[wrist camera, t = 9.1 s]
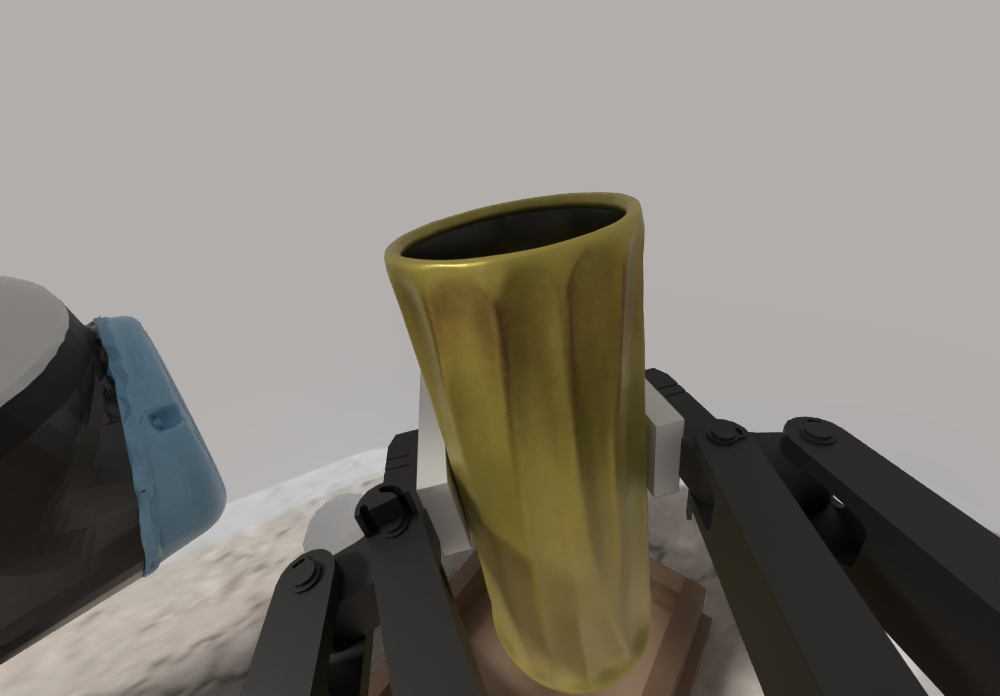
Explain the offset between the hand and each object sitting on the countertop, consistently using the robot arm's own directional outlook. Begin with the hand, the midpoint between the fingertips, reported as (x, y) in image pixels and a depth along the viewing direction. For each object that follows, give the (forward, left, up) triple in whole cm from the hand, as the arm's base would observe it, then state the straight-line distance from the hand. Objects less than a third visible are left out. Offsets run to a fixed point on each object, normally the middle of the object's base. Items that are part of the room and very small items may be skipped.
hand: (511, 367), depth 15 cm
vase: (+4, -3, -8) cm, 9 cm away
